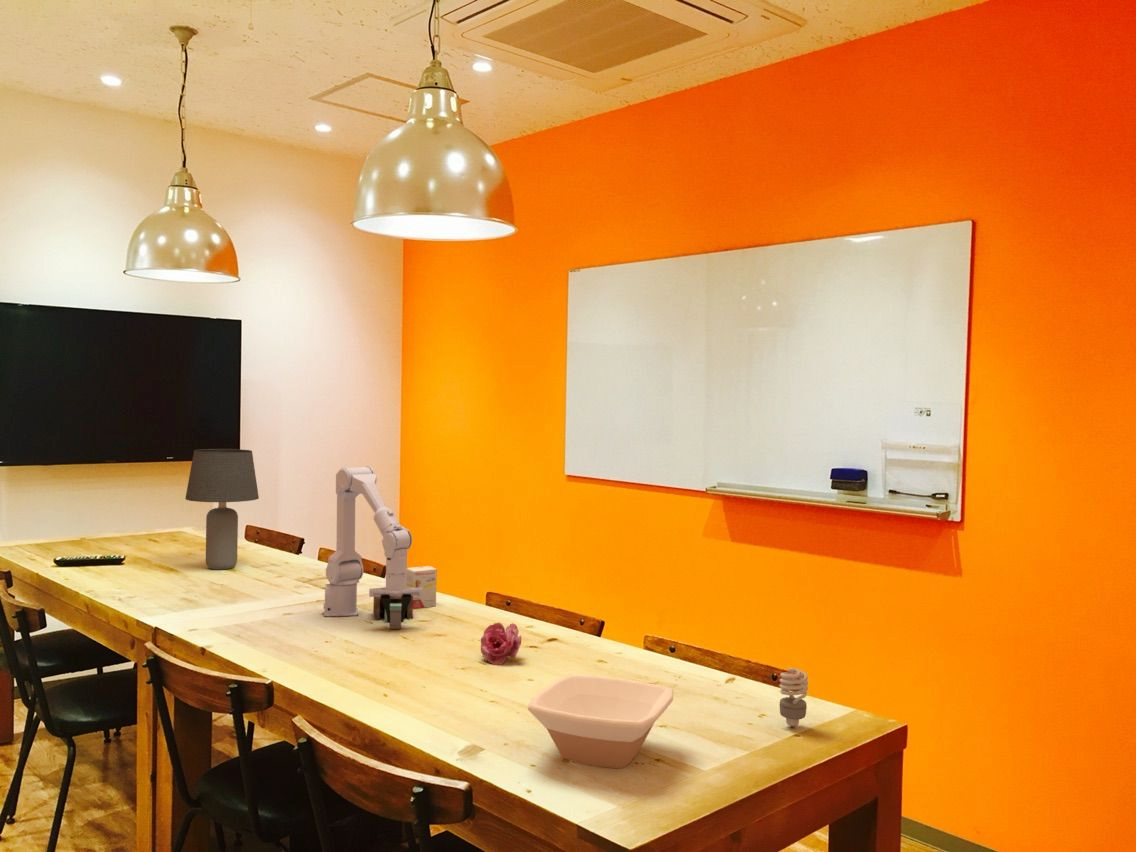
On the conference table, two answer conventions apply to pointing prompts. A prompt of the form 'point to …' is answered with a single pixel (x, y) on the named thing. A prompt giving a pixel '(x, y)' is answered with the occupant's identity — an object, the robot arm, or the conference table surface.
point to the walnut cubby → (379, 607)
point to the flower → (500, 643)
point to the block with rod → (394, 615)
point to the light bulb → (790, 705)
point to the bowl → (599, 717)
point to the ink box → (423, 585)
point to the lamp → (222, 498)
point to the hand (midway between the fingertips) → (395, 621)
